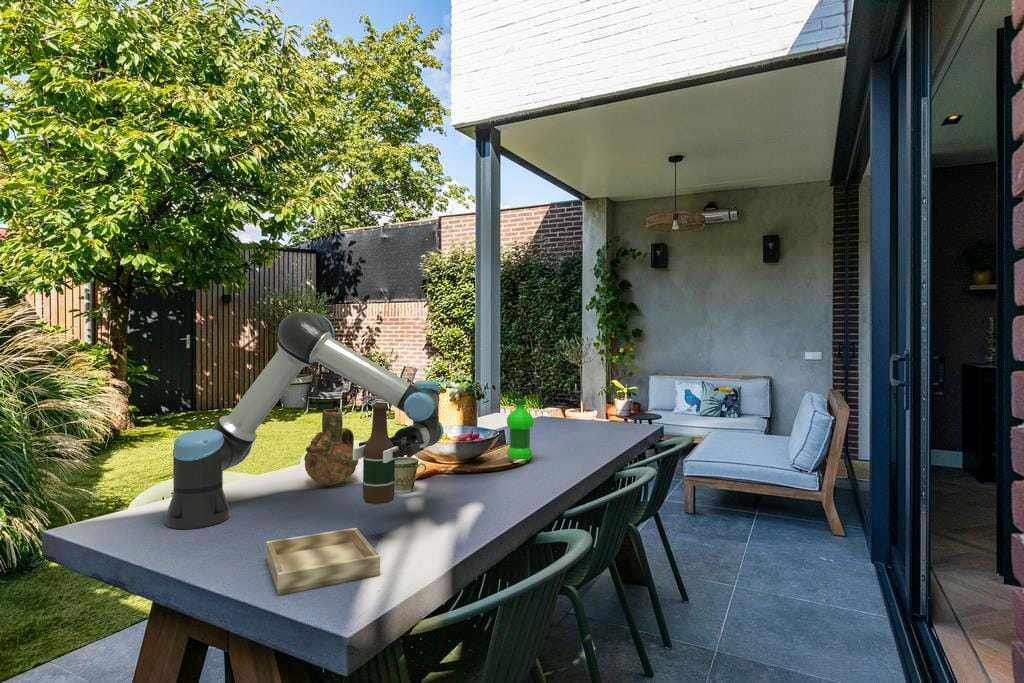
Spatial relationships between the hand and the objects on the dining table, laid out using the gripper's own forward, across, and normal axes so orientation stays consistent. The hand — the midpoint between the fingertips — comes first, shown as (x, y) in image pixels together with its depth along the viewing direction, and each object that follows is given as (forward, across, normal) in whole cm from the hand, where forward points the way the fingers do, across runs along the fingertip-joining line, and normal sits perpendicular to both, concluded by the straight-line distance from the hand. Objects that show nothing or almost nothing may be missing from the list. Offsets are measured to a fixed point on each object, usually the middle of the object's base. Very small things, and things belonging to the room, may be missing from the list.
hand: (369, 455), depth 138 cm
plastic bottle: (-97, -12, -21) cm, 100 cm away
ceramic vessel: (-45, +40, -22) cm, 64 cm away
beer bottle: (-5, 0, -12) cm, 13 cm away
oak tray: (+15, +3, -21) cm, 26 cm away
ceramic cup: (-45, +12, -22) cm, 51 cm away
